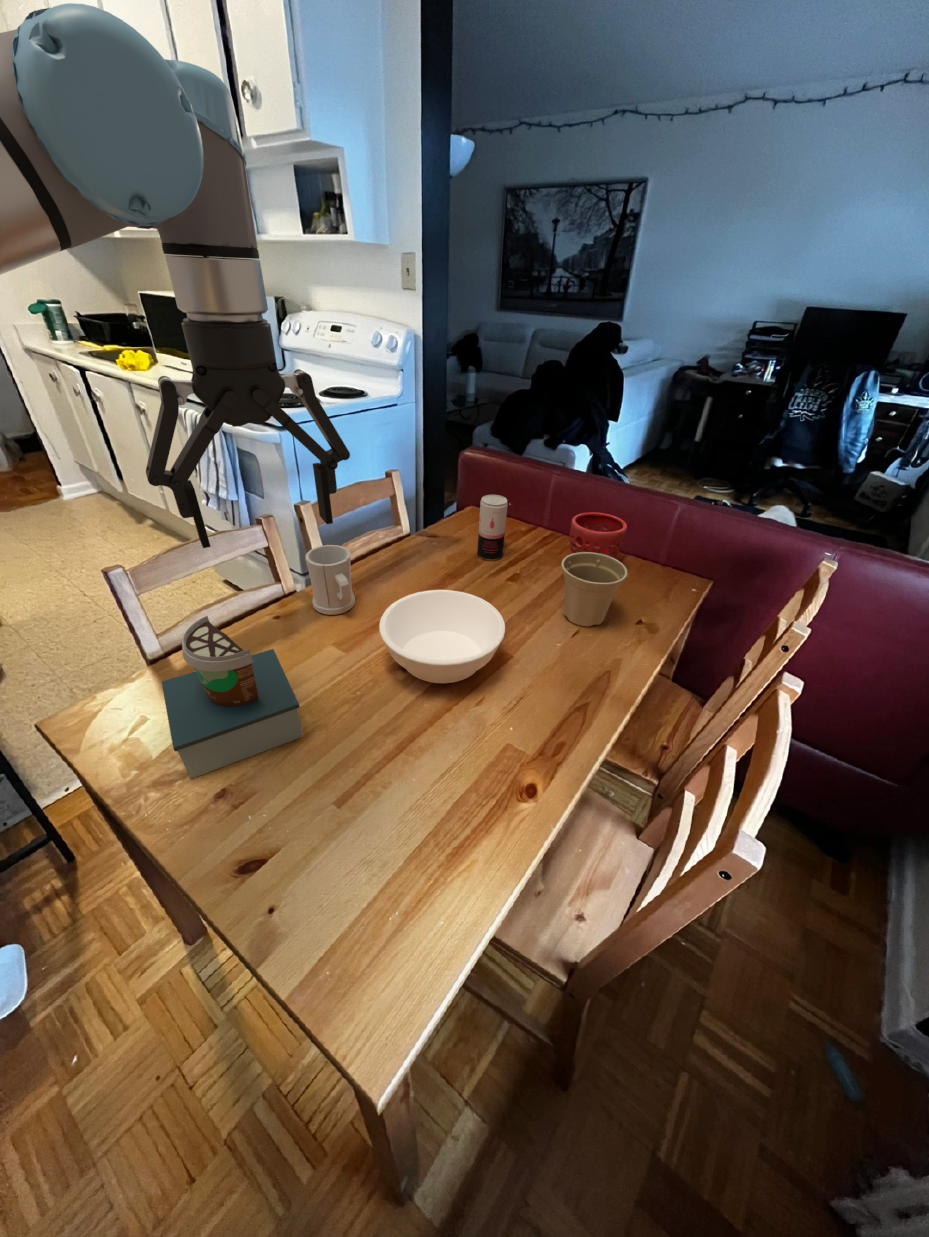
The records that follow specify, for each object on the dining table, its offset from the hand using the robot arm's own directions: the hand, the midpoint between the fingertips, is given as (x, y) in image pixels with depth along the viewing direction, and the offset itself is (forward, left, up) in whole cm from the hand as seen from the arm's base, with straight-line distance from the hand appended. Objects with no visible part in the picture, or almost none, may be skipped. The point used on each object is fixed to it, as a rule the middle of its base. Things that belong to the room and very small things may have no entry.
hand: (268, 530), depth 57 cm
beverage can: (+58, +36, -35) cm, 77 cm away
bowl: (+27, +6, -35) cm, 45 cm away
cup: (+16, +32, -35) cm, 50 cm away
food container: (-10, +7, -28) cm, 30 cm away
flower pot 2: (+61, +4, -35) cm, 70 cm away
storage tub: (-9, +7, -35) cm, 37 cm away
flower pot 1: (+78, +20, -35) cm, 88 cm away
